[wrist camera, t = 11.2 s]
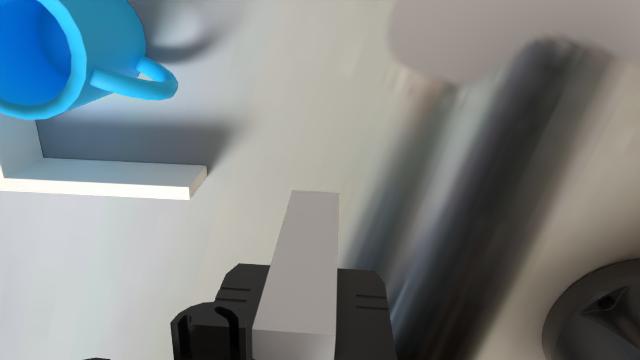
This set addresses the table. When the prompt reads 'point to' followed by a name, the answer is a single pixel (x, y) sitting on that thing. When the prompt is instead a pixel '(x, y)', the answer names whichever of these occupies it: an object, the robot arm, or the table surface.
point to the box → (86, 170)
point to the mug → (73, 56)
